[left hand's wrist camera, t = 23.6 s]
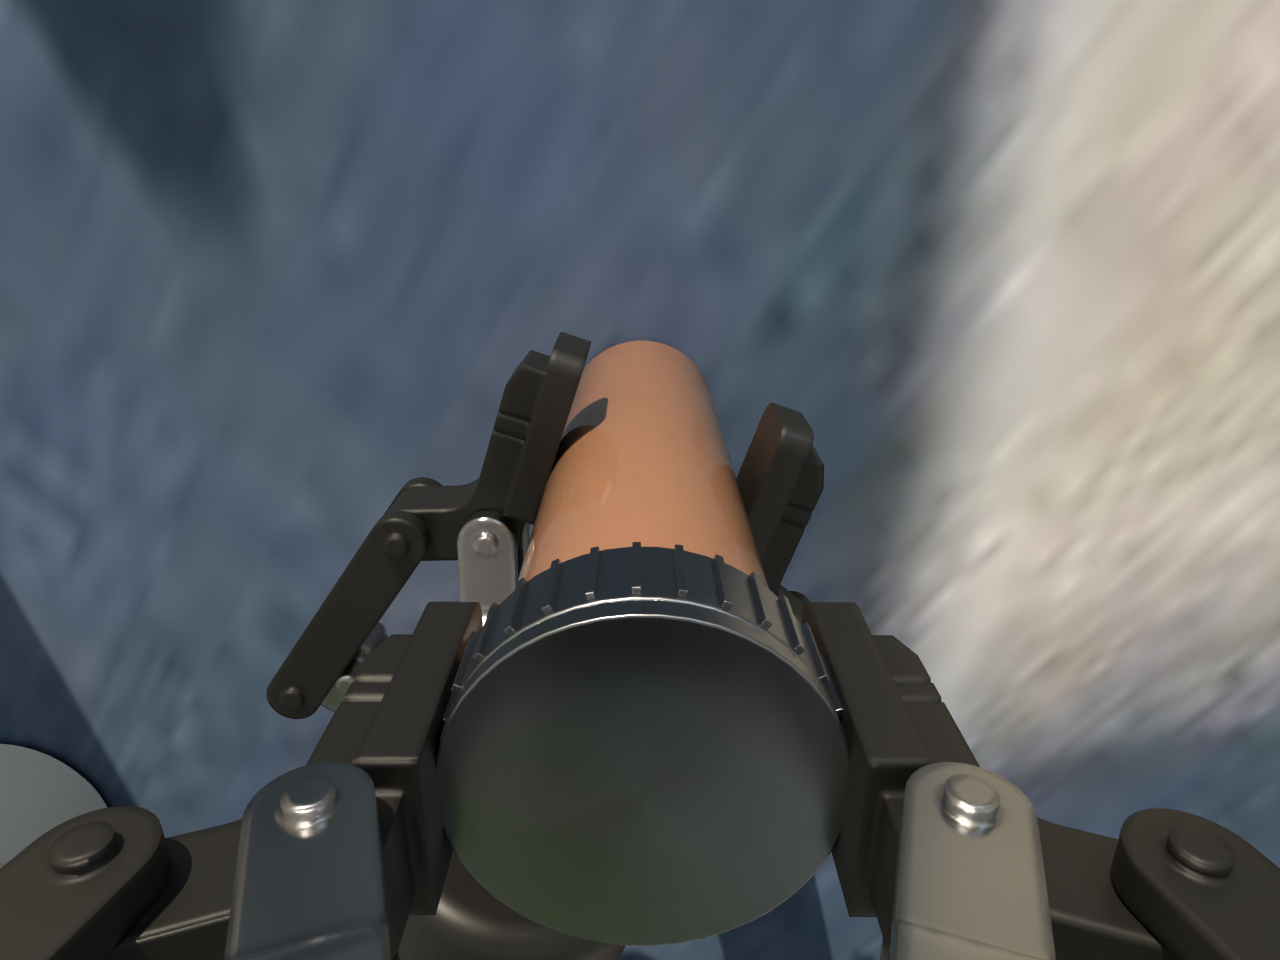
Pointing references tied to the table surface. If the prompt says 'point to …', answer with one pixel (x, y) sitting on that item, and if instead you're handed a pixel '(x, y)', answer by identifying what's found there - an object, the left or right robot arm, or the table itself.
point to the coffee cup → (37, 797)
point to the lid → (642, 749)
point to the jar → (642, 466)
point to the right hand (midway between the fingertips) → (681, 384)
